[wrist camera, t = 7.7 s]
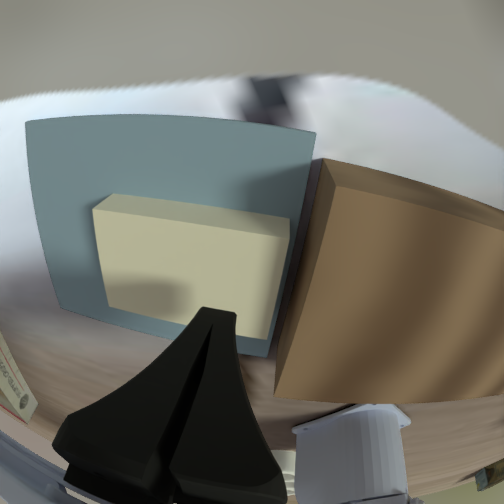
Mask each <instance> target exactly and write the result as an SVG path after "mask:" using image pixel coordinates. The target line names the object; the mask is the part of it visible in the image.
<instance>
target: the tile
mask: <svg viewBox="0 0 504 504" xmlns="http://www.w3.org/2000/svg"><path fill="white" fill-rule="evenodd" d="M92 211H93V219H94V227H95V234H96V241H97V248H98V254H99V260H100V265H101V271H102V276H103V281H104V286H105V291H106V295H107V300H108V304H109V307H113V308H117V309H121V310H124V311H128V312H132V313H136V314H140V315H144V316H148V317H152V318H157V319H161V320H165V321H170V322H174V323H179V324H183V325H188V324H189V323H190V321H191V320H192V319H193V317H194V316H195V315H196V313H197V312H198V310H199V309H200V308H201V307H203V306H204V307H209V308H215V309H220V310H225V311H231V312H235V313H236V314H237V319H236V335H240V336H246V337H252V338H258V339H264V340H267V337H268V333H269V329H270V325H271V320H272V316H273V312H274V307H275V303H276V299H277V294H278V290H279V285H280V281H281V276H282V272H283V267H284V263H285V258H286V253H287V249H288V244H289V239H290V219H289V218H284V217H278V216H272V215H266V214H259V213H253V212H247V211H240V210H234V209H227V208H221V207H214V206H207V205H200V204H193V203H186V202H178V201H171V200H163V199H155V198H147V197H139V196H131V195H122V194H111V195H110V196H109V197H107V198H106V199H105V200H103V201H102V202H101V203H99V204H98V205H97V206H95V207H94V208H93V209H92Z"/></svg>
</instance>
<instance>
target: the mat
mask: <svg viewBox="0 0 504 504" xmlns="http://www.w3.org/2000/svg"><path fill="white" fill-rule="evenodd" d="M25 128H26V145H27V157H28V167H29V176H30V183H31V190H32V197H33V203H34V208H35V214H36V219H37V224H38V229H39V233H40V238H41V242H42V246H43V250H44V254H45V258H46V262H47V265H48V269H49V273H50V276H51V279H52V283H53V286H54V289H55V292H56V295H57V298H58V301H59V304H60V307H61V308H62V309H65V310H68V311H71V312H74V313H77V314H81V315H84V316H87V317H90V318H93V319H96V320H100V321H103V322H106V323H110V324H113V325H117V326H120V327H124V328H128V329H131V330H135V331H139V332H143V333H146V334H150V335H154V336H158V337H163V338H167V339H171V340H175V339H176V338H177V337H178V336H179V334H180V333H181V332H182V331H183V330H184V329H185V327H186V326H187V325H183V324H179V323H174V322H170V321H165V320H161V319H157V318H152V317H148V316H144V315H140V314H136V313H132V312H128V311H124V310H121V309H117V308H113V307H109V304H108V300H107V295H106V291H105V286H104V281H103V276H102V271H101V265H100V260H99V254H98V248H97V241H96V234H95V227H94V219H93V211H92V209H93V208H94V207H95V206H97V205H98V204H99V203H101V202H102V201H103V200H105V199H106V198H107V197H109V196H110V195H111V194H122V195H131V196H139V197H147V198H155V199H163V200H171V201H178V202H186V203H193V204H200V205H207V206H214V207H221V208H227V209H234V210H240V211H247V212H253V213H259V214H266V215H272V216H278V217H284V218H289V219H290V239H289V244H288V249H287V253H286V258H285V263H284V267H283V272H282V276H281V281H280V285H279V290H278V294H277V299H276V303H275V307H274V312H273V316H272V320H271V325H270V329H269V333H268V337H267V340H264V339H258V338H252V337H246V336H240V335H236V345H237V353H240V354H246V355H252V356H259V357H265V358H267V355H268V351H269V347H270V343H271V340H272V336H273V332H274V328H275V324H276V320H277V316H278V311H279V307H280V303H281V299H282V295H283V291H284V287H285V282H286V278H287V274H288V269H289V265H290V261H291V256H292V252H293V247H294V243H295V238H296V233H297V229H298V224H299V220H300V215H301V210H302V205H303V200H304V195H305V191H306V186H307V181H308V176H309V170H310V165H311V160H312V155H313V150H314V144H315V139H316V133H315V132H310V131H304V130H299V129H293V128H287V127H281V126H275V125H268V124H261V123H254V122H246V121H238V120H228V119H218V118H207V117H194V116H177V115H146V114H117V115H88V116H72V117H59V118H49V119H40V120H31V121H27V122H25Z"/></svg>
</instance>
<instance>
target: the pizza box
mask: <svg viewBox="0 0 504 504" xmlns="http://www.w3.org/2000/svg"><path fill="white" fill-rule="evenodd" d="M0 406H2V407H3V408H4V409H6V410H7V411H8V412H10V413H11V414H13V415H14V416H16V417H17V418H18V419H20V420H21V421H23V422H24V423H26V424H27V425H28V423H29V421H30V419H31V417H32V415H33V413H34V412H35V410H36V408H37V406H38V402H37V401H36V399H35V397H34V396H33V394H32V392H31V391H30V389H29V387H28V385H27V384H26V382H25V380H24V378H23V376H22V375H21V373H20V371H19V369H18V367H17V365H16V363H15V361H14V359H13V357H12V355H11V353H10V351H9V349H8V347H7V344H6V342H5V340H4V338H3V335H2V333H1V331H0Z"/></svg>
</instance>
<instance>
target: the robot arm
mask: <svg viewBox="0 0 504 504" xmlns="http://www.w3.org/2000/svg"><path fill="white" fill-rule="evenodd" d="M236 319H237V314H236V313H235V312H231V311H225V310H220V309H215V308H209V307H204V306H203V307H201V308H200V309H199V310H198V312H197V313H196V315H195V316H194V317H193V319H192V320H191V321H190V323H189V324H188V325H187V326H186V327H185V329H184V330H183V331H182V332H181V333H180V334H179V336H178V337H177V338H176V339H175V340H174V341H173V342H172V343H171V344H170V345H169V346H168V347H167V348H166V349H165V350H164V351H163V352H162V353H161V354H160V355H159V356H158V357H157V358H156V359H155V360H154V361H153V362H152V363H151V364H150V365H149V366H147V367H146V368H145V369H144V370H143V371H141V372H140V373H139V374H138V375H136V376H135V377H134V378H132V379H131V380H130V381H128V382H127V383H126V384H124V385H123V386H121V387H120V388H118V389H117V390H115V391H113V392H112V393H110V394H108V395H107V396H105V397H103V398H102V399H100V400H98V401H97V402H95V403H93V404H91V405H89V406H87V407H85V408H82V409H80V410H78V411H76V412H74V413H72V414H69V415H68V416H67V418H66V419H65V421H64V422H63V423H62V425H61V427H60V428H59V430H58V432H57V435H56V437H55V439H54V441H53V443H52V447H53V449H54V450H55V451H56V452H57V453H58V454H59V455H60V456H61V457H63V458H64V459H65V460H66V461H67V462H68V463H70V464H69V466H68V469H67V471H65V470H63V469H62V468H60V467H58V466H56V465H54V464H52V463H51V462H49V461H47V460H45V459H44V458H42V457H40V456H38V455H37V454H35V453H34V452H32V451H30V450H29V449H27V448H25V447H24V446H23V445H21V444H19V443H18V442H17V441H15V440H14V439H12V438H11V437H9V436H8V435H7V434H5V433H4V432H2V431H1V430H0V497H1V498H2V499H3V500H4V501H5V502H6V503H8V504H87V503H85V502H83V501H81V500H79V499H77V498H75V497H73V496H71V495H69V494H67V492H66V489H65V487H66V488H68V489H70V490H72V491H74V492H76V493H78V494H81V495H82V496H84V497H87V498H89V499H91V500H93V501H96V502H98V503H100V504H173V503H177V504H286V503H287V499H288V498H287V489H286V484H285V480H284V477H283V474H282V470H281V468H280V466H279V465H278V463H277V461H276V460H275V458H274V456H273V454H272V452H271V451H270V449H269V447H268V445H267V443H266V441H265V439H264V437H263V435H262V432H261V430H260V428H259V425H258V423H257V421H256V418H255V416H254V413H253V411H252V408H251V405H250V402H249V399H248V396H247V393H246V390H245V386H244V382H243V379H242V374H241V370H240V365H239V359H238V353H237V345H236ZM410 423H411V419H410V418H409V417H407V416H406V415H405V414H404V413H403V412H402V411H401V410H400V409H399V408H397V407H396V406H395V405H394V404H356V405H354V406H352V407H349V408H347V409H344V410H341V411H339V412H336V413H333V414H331V415H328V416H325V417H322V418H320V419H317V420H314V421H311V422H308V423H305V424H302V425H298V426H295V427H293V428H292V432H293V433H294V434H296V435H297V439H296V459H295V476H294V491H295V496H296V499H297V502H298V504H425V503H424V501H422V500H419V498H413V499H412V498H411V497H410V496H409V495H408V486H407V477H406V468H405V461H404V453H403V446H402V440H401V434H400V428H402V427H405V426H407V425H409V424H410Z"/></svg>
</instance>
